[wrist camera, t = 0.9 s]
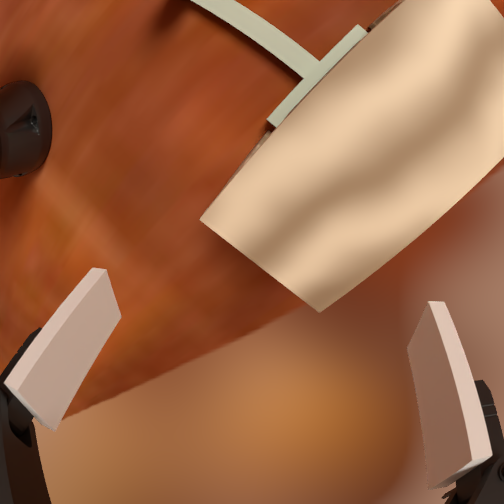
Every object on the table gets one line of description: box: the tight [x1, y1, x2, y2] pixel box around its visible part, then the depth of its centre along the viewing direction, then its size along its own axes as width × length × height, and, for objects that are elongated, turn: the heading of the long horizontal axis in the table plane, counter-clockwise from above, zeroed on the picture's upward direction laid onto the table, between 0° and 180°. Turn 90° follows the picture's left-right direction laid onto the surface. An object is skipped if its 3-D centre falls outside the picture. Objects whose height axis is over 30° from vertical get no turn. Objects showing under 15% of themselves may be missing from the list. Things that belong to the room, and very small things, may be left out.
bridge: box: [199, 0, 504, 312], centre depth 22 cm, size 11×24×16 cm, turn 141°
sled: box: [191, 0, 368, 128], centre depth 23 cm, size 31×13×8 cm, turn 51°
